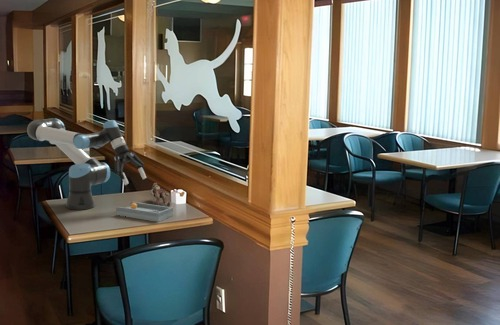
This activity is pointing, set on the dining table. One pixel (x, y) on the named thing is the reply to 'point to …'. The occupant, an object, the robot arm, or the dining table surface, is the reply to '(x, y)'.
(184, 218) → the dining table surface
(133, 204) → the ball
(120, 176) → the robot arm
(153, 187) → the figurine
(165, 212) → the tray
